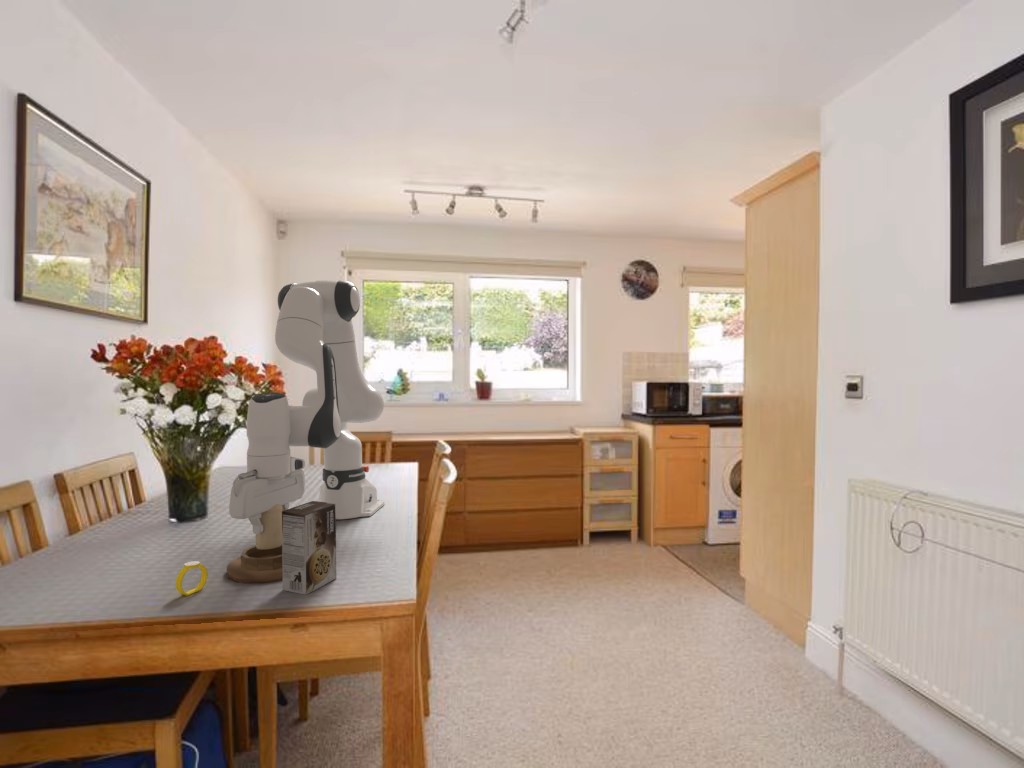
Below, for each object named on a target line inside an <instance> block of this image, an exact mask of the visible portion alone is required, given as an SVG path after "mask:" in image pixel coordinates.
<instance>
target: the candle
mask: <svg viewBox="0 0 1024 768" xmlns="http://www.w3.org/2000/svg"><path fill="white" fill-rule="evenodd" d="M259 519H260V522H261V524H264V532H262V533H260V534H255V545H256V548H257V549H262V550H266V549H273V548H277V547H280V546H282V505H280V504H276V505H274V506H273V507H272V508H271V509H270V510H268V511H265V512H263V513H261V518H259Z"/></svg>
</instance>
